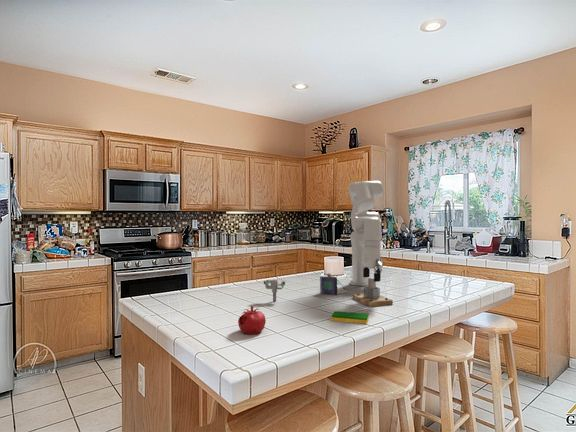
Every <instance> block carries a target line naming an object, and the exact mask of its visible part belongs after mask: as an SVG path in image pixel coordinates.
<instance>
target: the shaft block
mask: <svg viewBox="0 0 576 432" xmlns="http://www.w3.org/2000/svg"><path fill="white" fill-rule="evenodd" d="M367 287H368V289H376V287H377V282H374V277H369V278H368V285H367ZM352 300H355V301H357V302H359V303H361V304H363V305H365V306H367V307H380V306H381V307H382V306H391V305H393V304H394V303H393V301H394V300H393V299H390V297H389V298H388V297H386V296H383V295H381V294H380V298H379V299H367V298H365V297H364V293H355V294H352Z"/></svg>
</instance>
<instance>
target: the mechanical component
mask: <svg viewBox="0 0 576 432" xmlns="http://www.w3.org/2000/svg"><path fill="white" fill-rule="evenodd" d="M263 284H264V287H265V289H267V290H271V292H272V302H273V303H276V302H277V293H278V290H282V289H283V288H284V287H285V285H286V281H284V280H281V282H280V283H279V282H278V280H276V279H275V280H274V279H266V280H263ZM280 286H281V287H280Z"/></svg>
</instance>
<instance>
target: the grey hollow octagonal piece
mask: <svg viewBox="0 0 576 432" xmlns="http://www.w3.org/2000/svg"><path fill="white" fill-rule="evenodd" d="M363 294H364V297H365V298H367V299H379V298H380V295H381V288H380V287H377V286H376V289H368V286H363Z"/></svg>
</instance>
